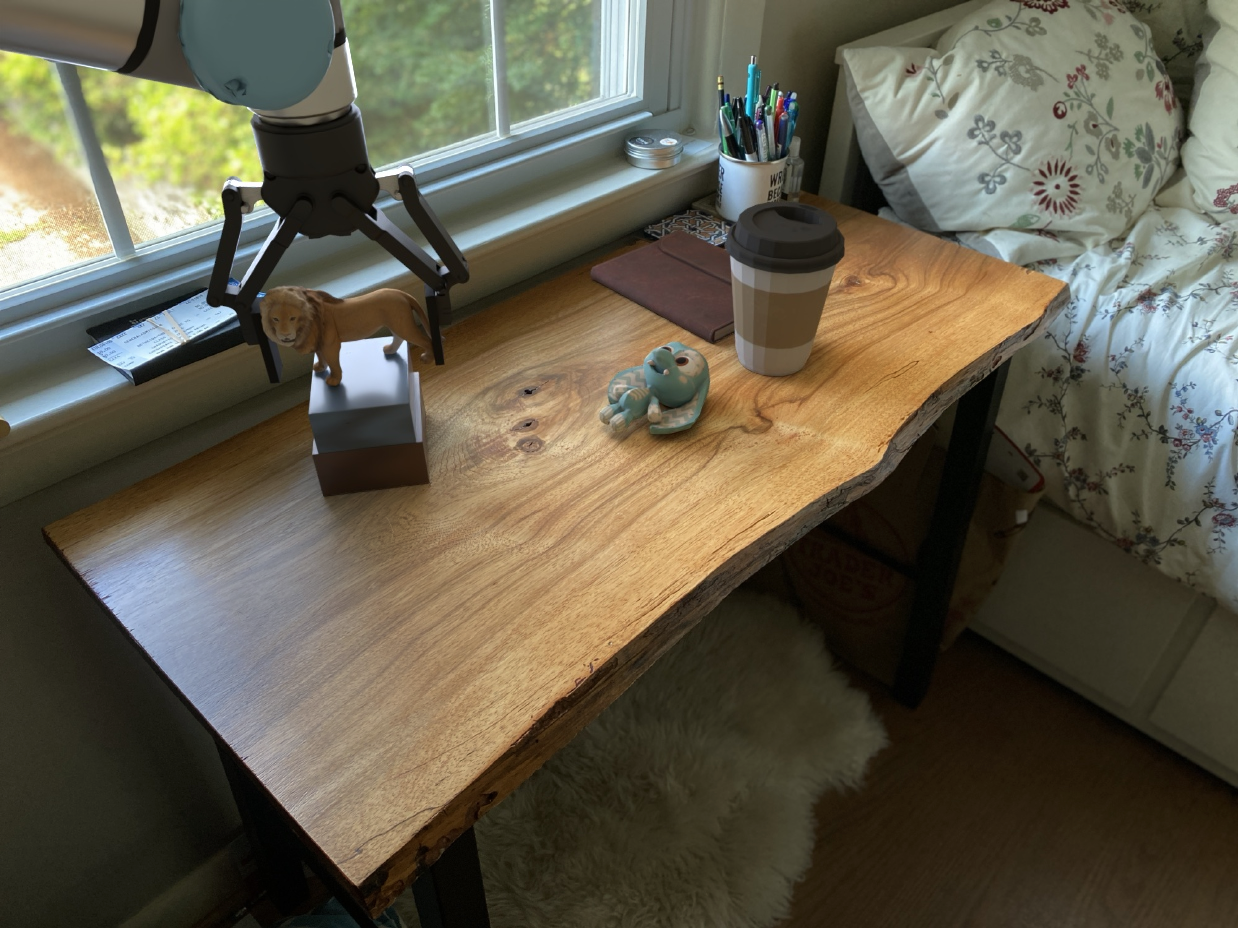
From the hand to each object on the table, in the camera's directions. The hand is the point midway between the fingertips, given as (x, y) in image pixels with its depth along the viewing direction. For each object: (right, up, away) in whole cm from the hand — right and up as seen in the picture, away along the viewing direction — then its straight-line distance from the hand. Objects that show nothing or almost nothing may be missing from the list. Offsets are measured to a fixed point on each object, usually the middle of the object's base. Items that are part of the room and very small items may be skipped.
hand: (359, 366), depth 79 cm
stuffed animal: (+25, -3, +10) cm, 28 cm away
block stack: (0, -7, +6) cm, 9 cm away
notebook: (+31, +12, +30) cm, 44 cm away
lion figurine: (0, -1, 0) cm, 1 cm away
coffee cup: (+38, +3, +18) cm, 42 cm away
